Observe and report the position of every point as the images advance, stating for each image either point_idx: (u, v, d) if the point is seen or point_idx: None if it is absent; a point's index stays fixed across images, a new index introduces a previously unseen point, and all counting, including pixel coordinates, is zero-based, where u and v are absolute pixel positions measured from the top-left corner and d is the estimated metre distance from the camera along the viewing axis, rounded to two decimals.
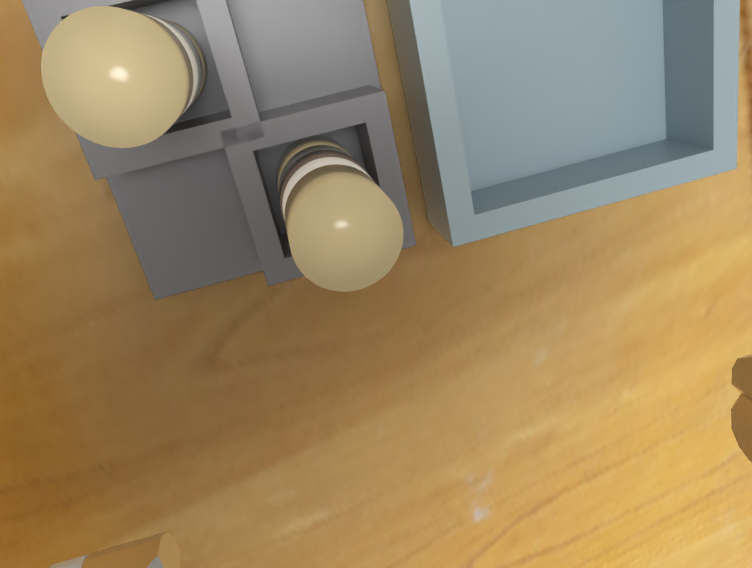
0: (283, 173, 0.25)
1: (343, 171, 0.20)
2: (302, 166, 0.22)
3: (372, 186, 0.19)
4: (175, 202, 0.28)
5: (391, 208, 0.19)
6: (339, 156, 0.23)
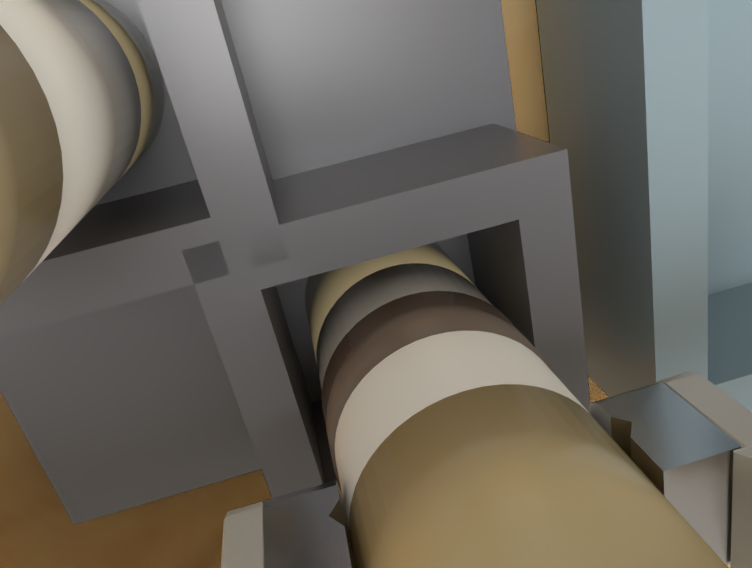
0: (329, 333, 0.11)
1: (551, 447, 0.06)
2: (390, 358, 0.09)
3: (703, 564, 0.05)
4: (105, 355, 0.14)
5: None
6: (481, 326, 0.09)
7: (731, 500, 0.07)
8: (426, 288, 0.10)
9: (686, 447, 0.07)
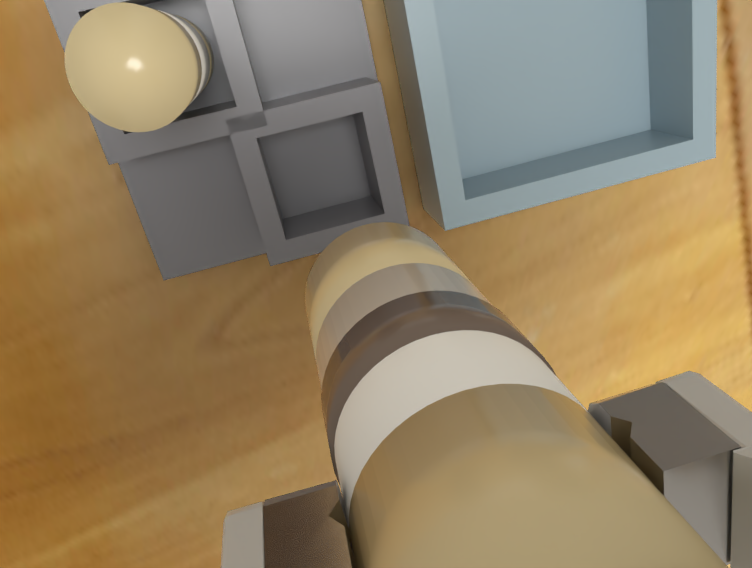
0: (329, 333, 0.11)
1: (551, 447, 0.06)
2: (389, 358, 0.09)
3: (702, 563, 0.05)
4: (183, 187, 0.29)
5: None
6: (480, 326, 0.09)
7: (731, 501, 0.07)
8: (426, 288, 0.10)
9: (686, 447, 0.07)
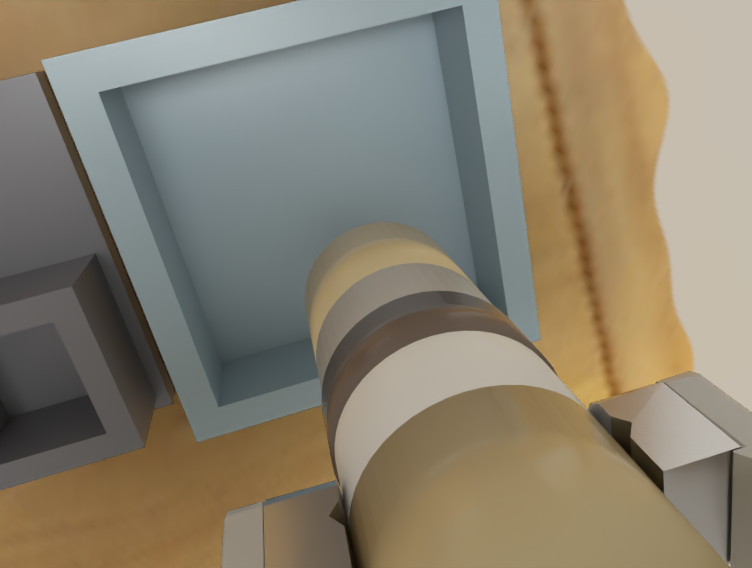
0: (329, 334, 0.11)
1: (553, 449, 0.06)
2: (390, 359, 0.09)
3: (707, 567, 0.05)
4: None
5: None
6: (481, 326, 0.09)
7: (731, 501, 0.07)
8: (426, 288, 0.10)
9: (686, 447, 0.07)
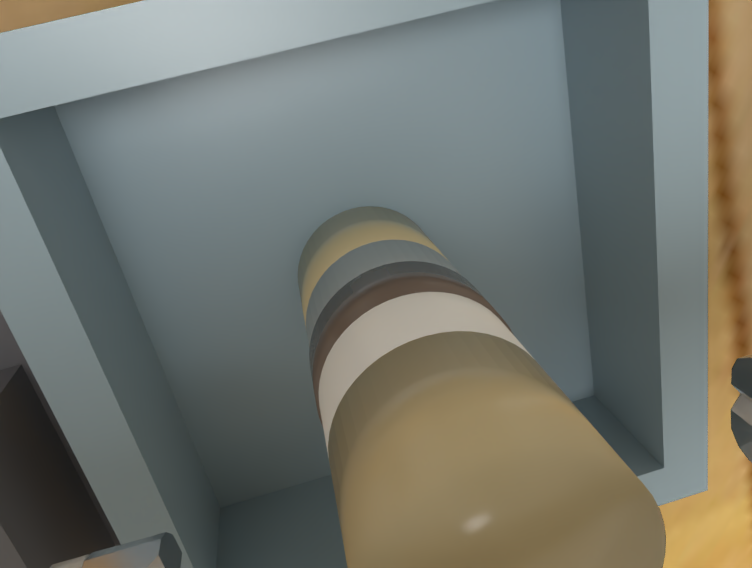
0: (316, 301, 0.12)
1: (490, 375, 0.08)
2: (365, 315, 0.10)
3: (599, 455, 0.07)
4: None
5: (644, 507, 0.07)
6: (445, 289, 0.10)
7: None
8: (401, 259, 0.12)
9: None
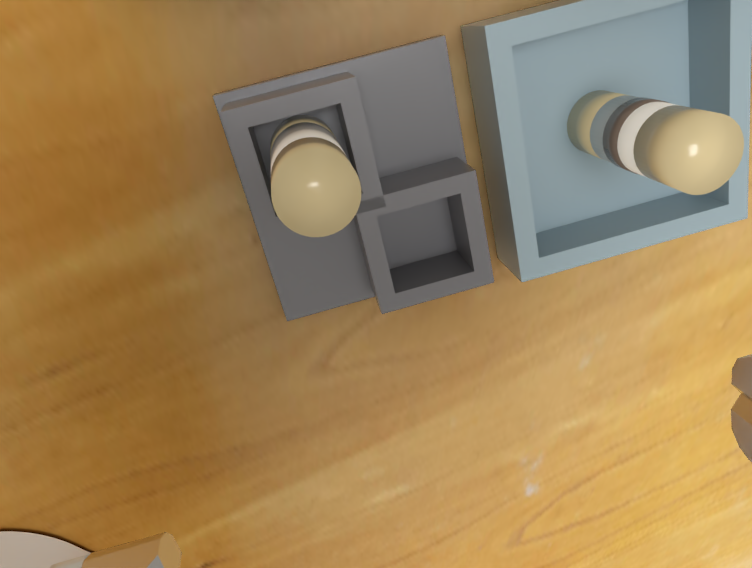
0: (601, 116, 0.33)
1: (694, 108, 0.28)
2: (638, 108, 0.30)
3: (729, 117, 0.27)
4: (306, 248, 0.36)
5: (739, 133, 0.27)
6: (662, 101, 0.31)
7: None
8: (638, 97, 0.32)
9: None
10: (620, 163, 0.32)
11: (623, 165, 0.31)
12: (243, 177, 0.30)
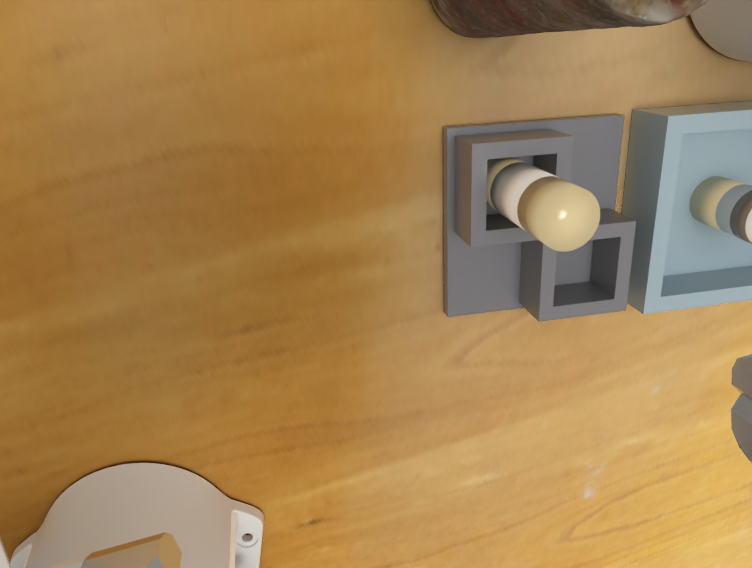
0: (730, 197, 0.43)
1: None
2: None
3: None
4: (480, 259, 0.44)
5: None
6: None
7: None
8: None
9: None
10: (744, 234, 0.42)
11: (746, 236, 0.42)
12: (472, 196, 0.39)
